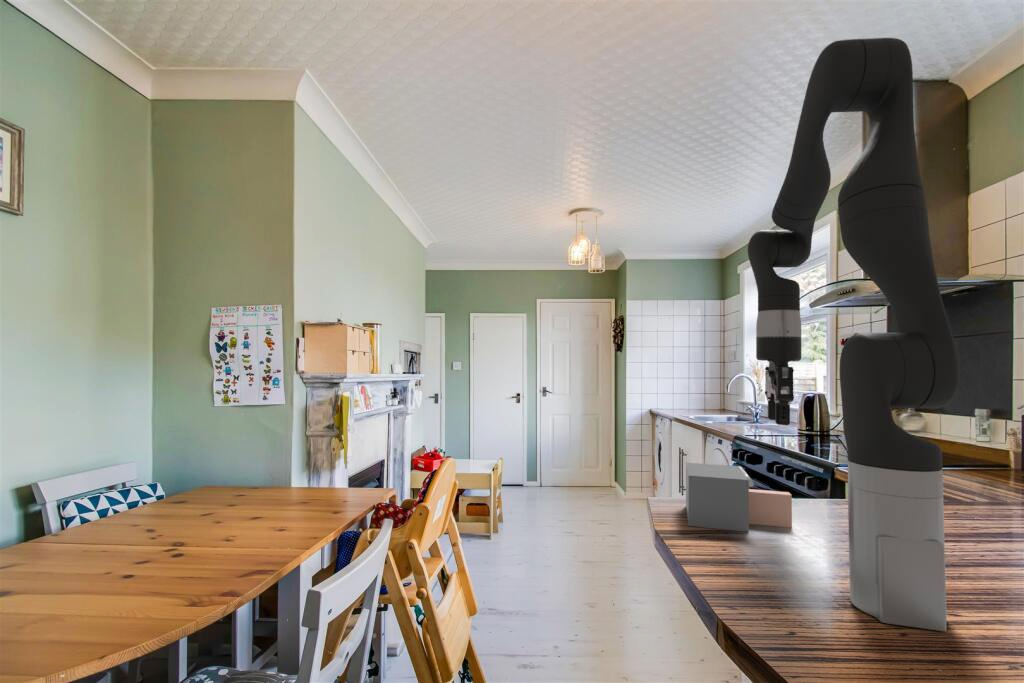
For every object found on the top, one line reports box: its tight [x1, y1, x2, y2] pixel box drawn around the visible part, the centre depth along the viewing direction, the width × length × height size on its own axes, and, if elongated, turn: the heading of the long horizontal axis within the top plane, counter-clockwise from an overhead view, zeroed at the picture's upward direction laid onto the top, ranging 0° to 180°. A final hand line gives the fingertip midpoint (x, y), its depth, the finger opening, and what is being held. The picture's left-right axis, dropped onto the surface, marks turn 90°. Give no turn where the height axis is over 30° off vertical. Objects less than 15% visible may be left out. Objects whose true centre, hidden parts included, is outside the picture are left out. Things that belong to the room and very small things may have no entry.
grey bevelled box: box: [685, 462, 755, 533], centre depth 97 cm, size 14×11×9 cm
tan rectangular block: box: [748, 488, 793, 529], centre depth 96 cm, size 2×16×6 cm, turn 73°
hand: (778, 422), depth 95 cm, fingers open, 8 cm apart
